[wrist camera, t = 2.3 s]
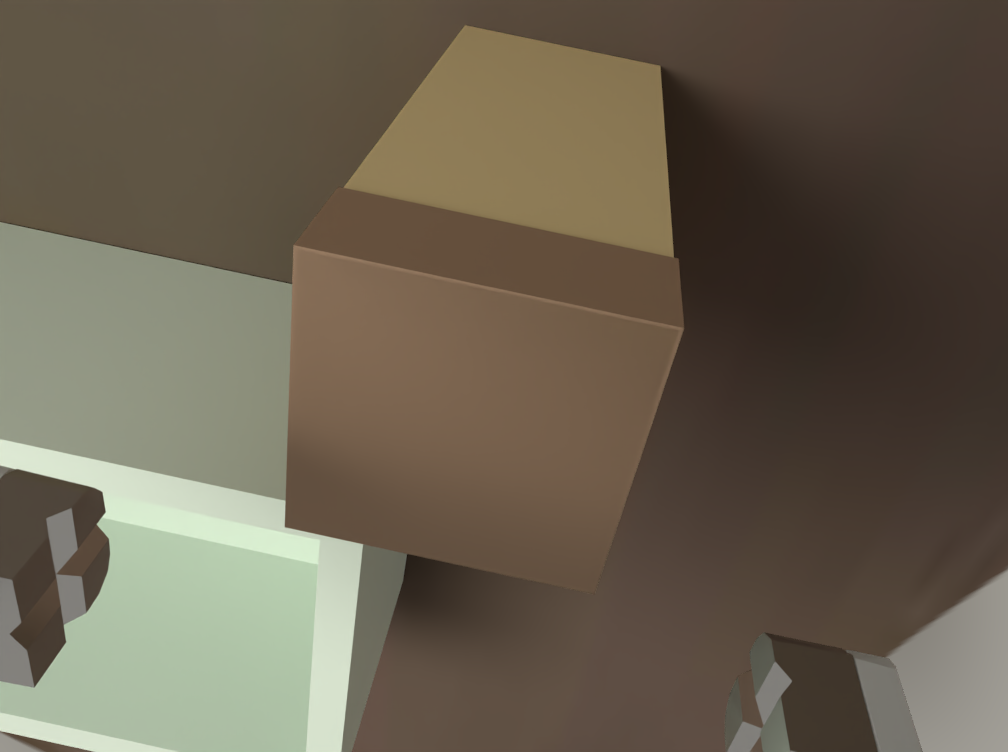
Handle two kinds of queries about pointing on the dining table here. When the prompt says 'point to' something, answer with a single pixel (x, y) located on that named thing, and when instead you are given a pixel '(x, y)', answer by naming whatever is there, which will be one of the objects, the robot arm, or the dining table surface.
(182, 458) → the tote
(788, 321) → the dining table surface
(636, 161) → the oat carton
